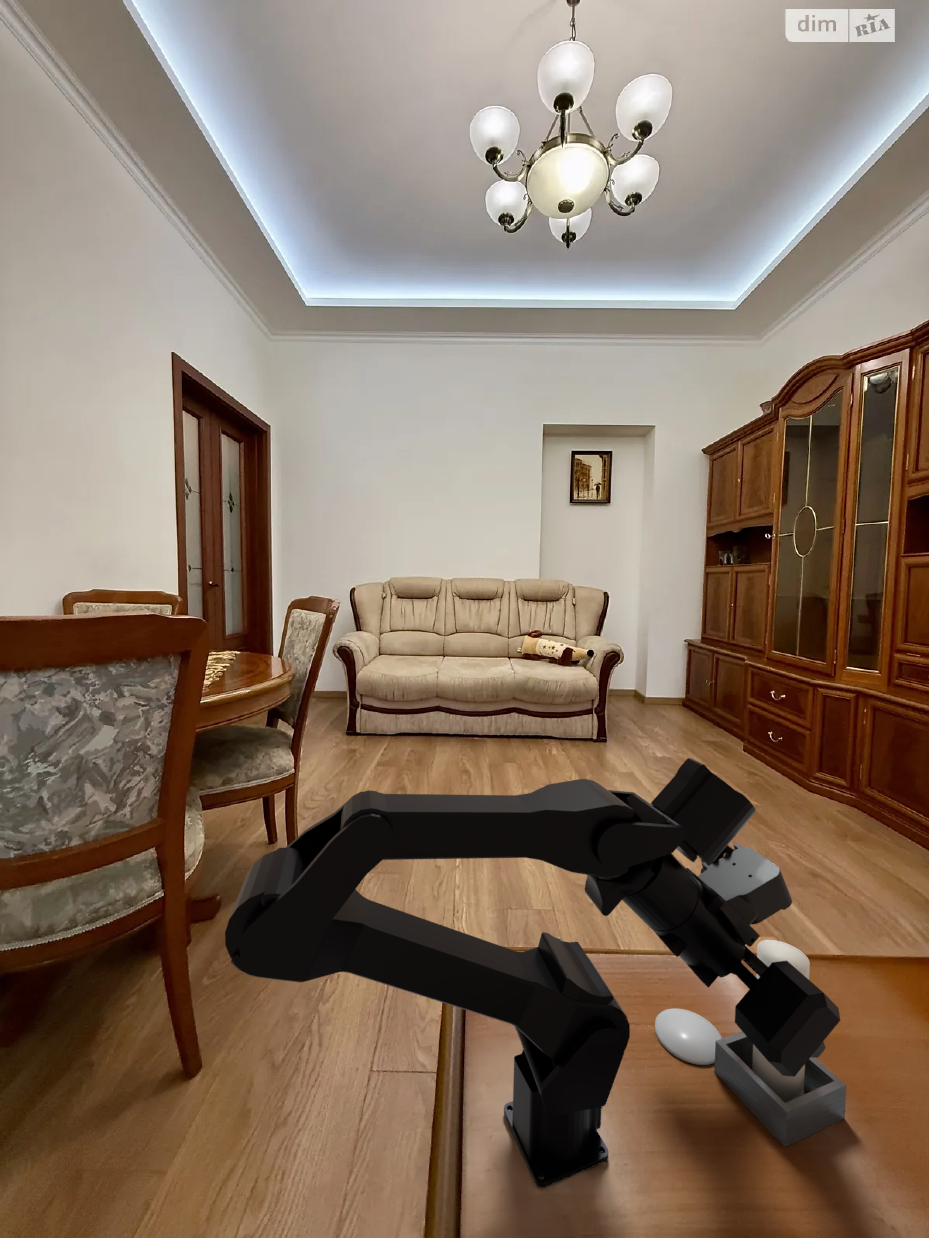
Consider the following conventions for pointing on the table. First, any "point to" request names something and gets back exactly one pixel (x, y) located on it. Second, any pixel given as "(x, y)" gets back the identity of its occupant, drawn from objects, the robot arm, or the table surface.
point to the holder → (777, 1116)
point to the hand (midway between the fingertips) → (776, 1006)
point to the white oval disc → (687, 1036)
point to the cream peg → (778, 1083)
